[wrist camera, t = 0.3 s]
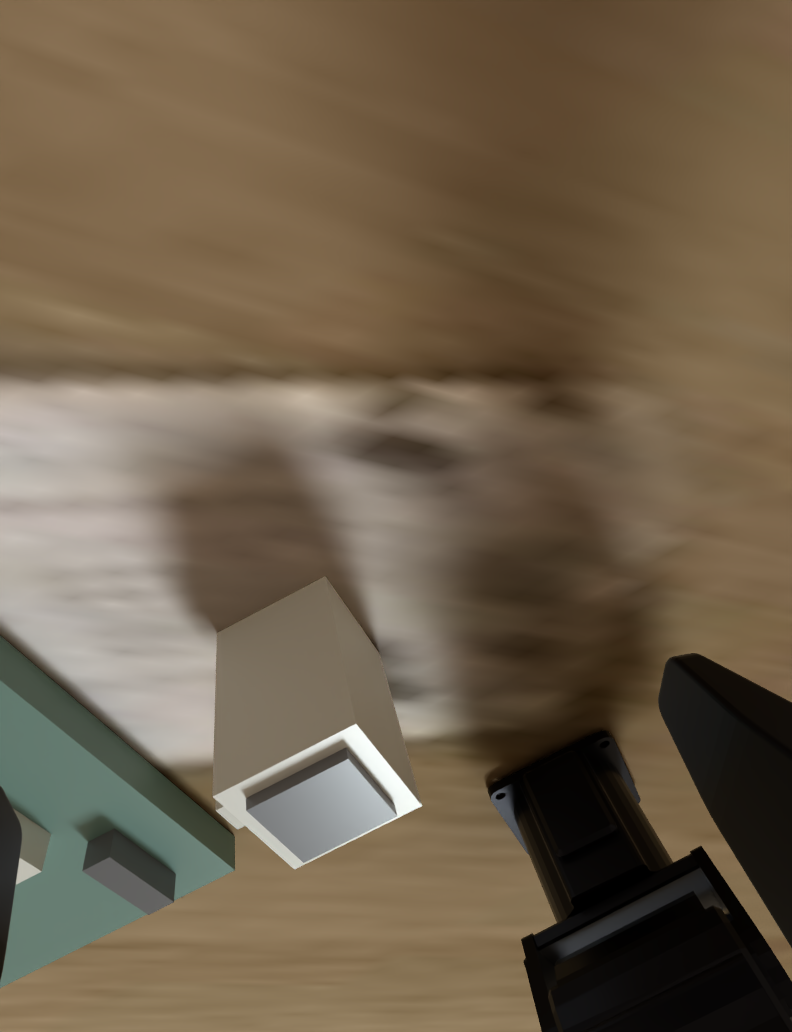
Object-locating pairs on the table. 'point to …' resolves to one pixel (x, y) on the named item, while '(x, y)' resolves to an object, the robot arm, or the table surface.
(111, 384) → the table surface
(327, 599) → the plug
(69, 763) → the board
